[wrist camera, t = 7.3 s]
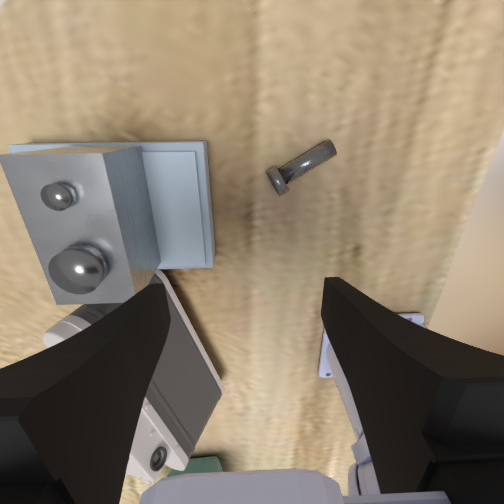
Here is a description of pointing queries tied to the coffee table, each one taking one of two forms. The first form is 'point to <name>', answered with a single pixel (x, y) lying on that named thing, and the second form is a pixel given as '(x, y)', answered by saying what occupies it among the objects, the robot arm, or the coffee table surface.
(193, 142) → the stand
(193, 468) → the flower pot
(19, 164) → the block
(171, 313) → the camera
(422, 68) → the coffee table surface
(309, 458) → the coffee table surface
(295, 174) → the bolt
